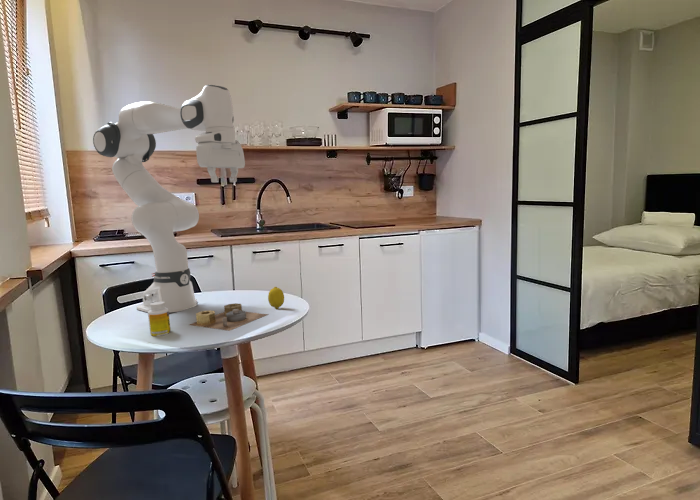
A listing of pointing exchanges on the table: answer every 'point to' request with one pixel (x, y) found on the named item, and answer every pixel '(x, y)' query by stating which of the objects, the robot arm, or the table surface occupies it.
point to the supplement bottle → (159, 319)
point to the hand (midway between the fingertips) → (224, 182)
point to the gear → (205, 317)
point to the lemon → (276, 297)
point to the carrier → (232, 318)
